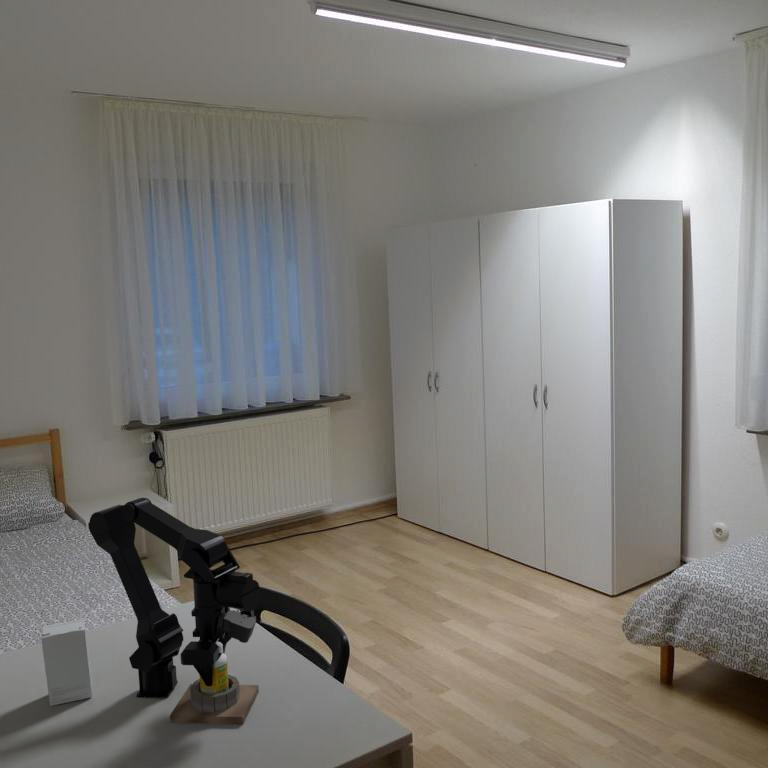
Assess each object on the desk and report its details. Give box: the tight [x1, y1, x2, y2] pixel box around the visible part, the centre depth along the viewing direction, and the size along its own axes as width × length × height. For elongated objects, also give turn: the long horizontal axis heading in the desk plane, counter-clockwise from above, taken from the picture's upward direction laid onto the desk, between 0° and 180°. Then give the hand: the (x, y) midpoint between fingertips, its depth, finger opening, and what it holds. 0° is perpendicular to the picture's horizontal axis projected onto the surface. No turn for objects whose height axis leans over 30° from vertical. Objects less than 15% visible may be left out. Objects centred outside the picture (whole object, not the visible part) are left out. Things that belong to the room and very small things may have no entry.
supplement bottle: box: [199, 642, 229, 694], centre depth 157 cm, size 5×5×10 cm
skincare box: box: [40, 618, 93, 707], centre depth 163 cm, size 8×6×15 cm
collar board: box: [169, 674, 260, 726], centre depth 157 cm, size 14×12×4 cm
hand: (213, 678), depth 157 cm, fingers closed on supplement bottle, 5 cm apart
